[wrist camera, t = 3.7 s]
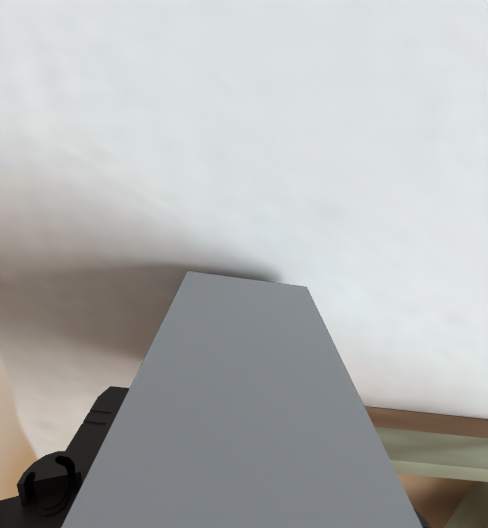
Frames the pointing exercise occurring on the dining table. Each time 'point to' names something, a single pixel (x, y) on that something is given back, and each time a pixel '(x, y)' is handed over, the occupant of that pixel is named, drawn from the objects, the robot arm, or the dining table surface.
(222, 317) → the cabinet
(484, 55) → the dining table surface
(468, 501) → the brown wooden l-shaped piece
